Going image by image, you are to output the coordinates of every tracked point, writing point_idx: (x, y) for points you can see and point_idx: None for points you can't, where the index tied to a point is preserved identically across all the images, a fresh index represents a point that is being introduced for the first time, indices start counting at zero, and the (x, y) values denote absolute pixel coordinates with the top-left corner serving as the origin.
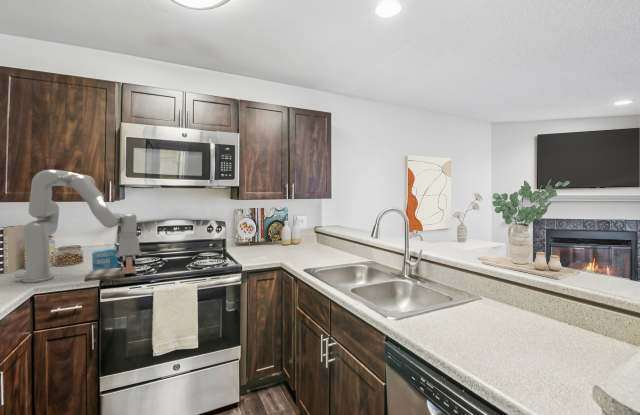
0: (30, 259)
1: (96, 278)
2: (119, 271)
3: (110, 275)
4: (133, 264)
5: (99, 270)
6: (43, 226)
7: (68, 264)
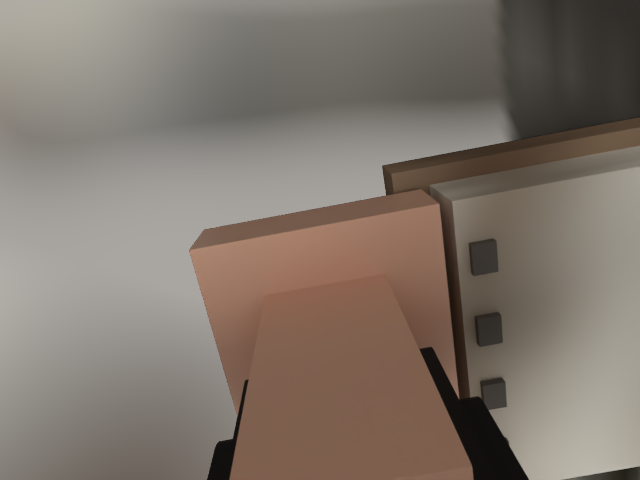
0: None
1: None
2: (506, 188)
3: (632, 147)
4: (240, 414)
5: None
6: None
7: None
